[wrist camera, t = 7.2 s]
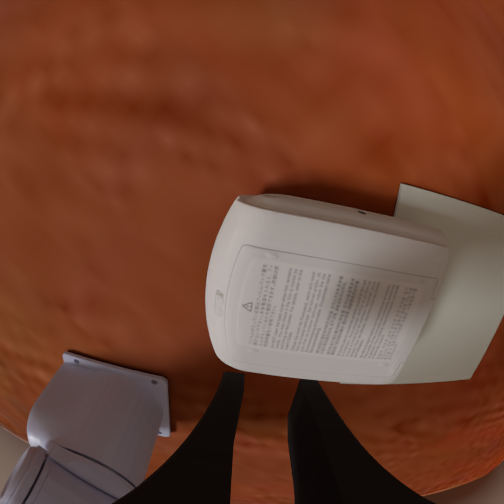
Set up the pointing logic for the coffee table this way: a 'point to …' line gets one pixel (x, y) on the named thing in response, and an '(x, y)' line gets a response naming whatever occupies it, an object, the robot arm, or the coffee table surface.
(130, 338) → the coffee table surface
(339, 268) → the photo printer
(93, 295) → the coffee table surface
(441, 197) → the mat
